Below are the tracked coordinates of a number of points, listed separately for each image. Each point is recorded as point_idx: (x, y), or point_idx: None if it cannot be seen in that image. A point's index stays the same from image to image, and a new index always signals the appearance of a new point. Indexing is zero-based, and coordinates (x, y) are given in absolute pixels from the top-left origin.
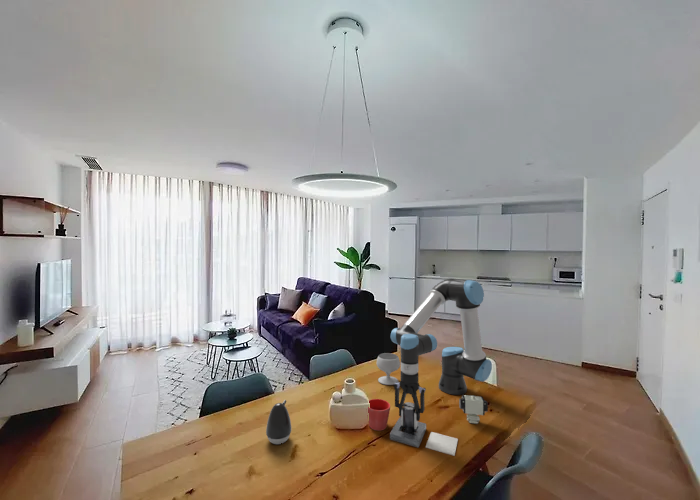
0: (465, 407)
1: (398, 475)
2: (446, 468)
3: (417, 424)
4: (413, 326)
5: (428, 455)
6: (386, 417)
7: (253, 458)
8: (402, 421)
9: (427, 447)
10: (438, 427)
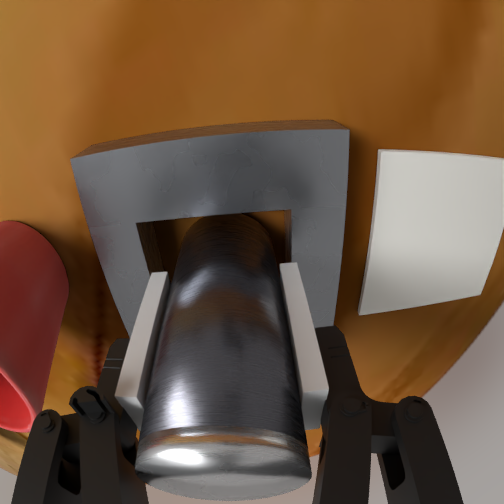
0: None
1: None
2: (432, 362)
3: (299, 278)
4: None
5: (372, 346)
6: (51, 352)
7: (10, 447)
8: None
9: (368, 311)
10: (415, 52)
